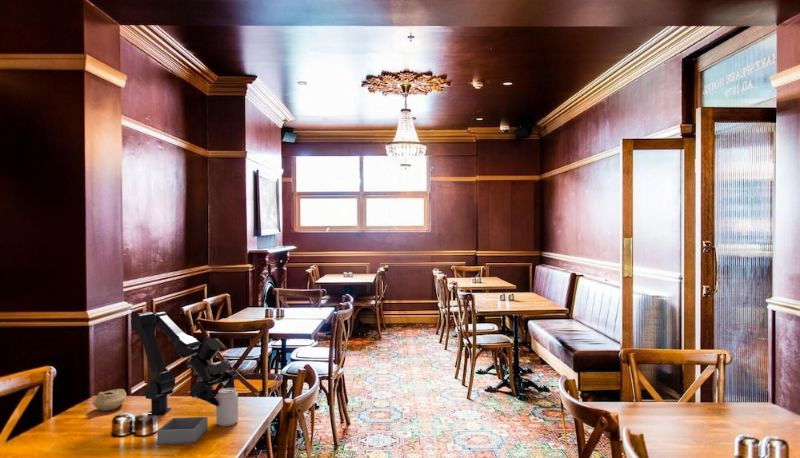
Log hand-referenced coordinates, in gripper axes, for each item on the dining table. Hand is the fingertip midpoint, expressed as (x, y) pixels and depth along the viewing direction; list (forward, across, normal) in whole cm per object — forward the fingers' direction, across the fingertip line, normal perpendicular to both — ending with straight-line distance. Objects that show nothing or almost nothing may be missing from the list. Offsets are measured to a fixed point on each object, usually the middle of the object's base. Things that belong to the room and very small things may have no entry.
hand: (227, 401), depth 186 cm
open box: (+2, -16, +9) cm, 18 cm away
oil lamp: (-34, -3, +45) cm, 57 cm away
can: (+6, 0, +6) cm, 8 cm away
